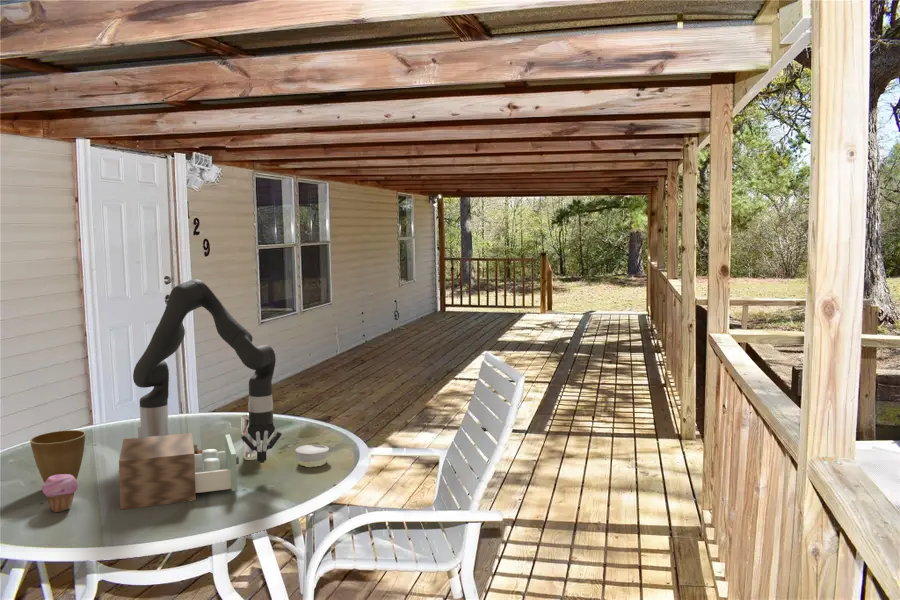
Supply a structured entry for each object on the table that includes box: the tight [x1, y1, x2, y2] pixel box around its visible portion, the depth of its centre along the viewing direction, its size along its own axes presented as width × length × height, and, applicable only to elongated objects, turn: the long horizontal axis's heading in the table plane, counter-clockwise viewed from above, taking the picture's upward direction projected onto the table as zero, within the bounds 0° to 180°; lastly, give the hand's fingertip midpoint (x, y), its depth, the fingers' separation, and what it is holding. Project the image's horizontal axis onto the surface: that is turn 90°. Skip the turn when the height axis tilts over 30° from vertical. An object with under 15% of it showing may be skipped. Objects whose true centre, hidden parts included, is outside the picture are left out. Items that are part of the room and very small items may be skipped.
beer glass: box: [240, 413, 257, 457], centre depth 248 cm, size 7×7×15 cm
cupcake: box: [41, 474, 79, 513], centre depth 200 cm, size 9×9×10 cm
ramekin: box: [294, 444, 330, 462], centre depth 242 cm, size 11×11×5 cm
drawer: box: [194, 433, 240, 494], centre depth 219 cm, size 21×23×11 cm
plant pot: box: [29, 429, 86, 484], centre depth 218 cm, size 15×15×16 cm
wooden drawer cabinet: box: [118, 432, 197, 511], centre depth 215 cm, size 20×24×14 cm
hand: (261, 462), depth 226 cm, fingers closed
